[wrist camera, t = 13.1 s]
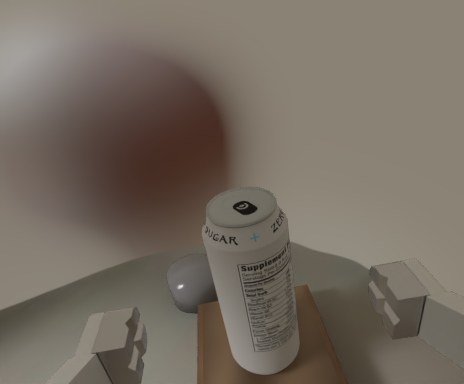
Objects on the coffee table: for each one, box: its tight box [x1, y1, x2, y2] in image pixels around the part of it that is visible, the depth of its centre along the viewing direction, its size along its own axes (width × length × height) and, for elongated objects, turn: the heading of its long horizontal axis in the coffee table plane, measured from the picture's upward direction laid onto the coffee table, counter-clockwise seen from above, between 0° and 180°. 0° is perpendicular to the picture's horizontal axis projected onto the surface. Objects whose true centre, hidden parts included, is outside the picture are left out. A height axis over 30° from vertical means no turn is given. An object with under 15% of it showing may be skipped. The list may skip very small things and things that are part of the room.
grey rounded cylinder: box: [166, 254, 218, 313], centre depth 41 cm, size 6×6×4 cm
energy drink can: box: [202, 187, 300, 375], centre depth 26 cm, size 6×6×15 cm
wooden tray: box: [197, 285, 347, 384], centre depth 31 cm, size 12×12×4 cm
